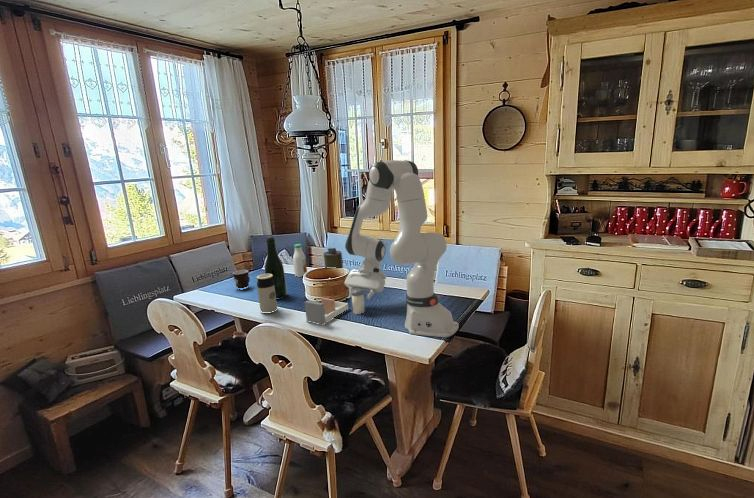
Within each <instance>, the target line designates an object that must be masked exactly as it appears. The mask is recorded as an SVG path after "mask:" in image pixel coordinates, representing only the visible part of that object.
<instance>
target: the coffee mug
mask: <svg viewBox="0 0 754 498" xmlns="http://www.w3.org/2000/svg"><path fill="white" fill-rule="evenodd" d="M232 274H233V275H232V276H233V279H234V283H235V285H236V288H237V287H238V288H244V287H247V286H250V285H249V282H251V281H250V280H251V279H250V276H249V270H248V269H240V270H235V271H233V272H232Z"/></svg>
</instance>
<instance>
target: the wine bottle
mask: <svg viewBox="0 0 754 498" xmlns="http://www.w3.org/2000/svg"><path fill="white" fill-rule="evenodd" d="M266 248H267V249H266V250H267V255H266V261H265V264H264V274H272V275H273V276H272V279H273V281H274V286H275V294H276V298H281V297H284V296H286V295H287V296H288V289H287V288H288V287H287V282H286V281H287V280H286V275H285V268H284V265H283V262H282V260H281V259H280V256H279V254H278V251H277V247H276V239H275V238H274V235H273V236H272V235H270V236H267V237H266ZM287 296H286V297H287ZM284 298H285V297H284Z"/></svg>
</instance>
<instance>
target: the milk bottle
mask: <svg viewBox="0 0 754 498" xmlns="http://www.w3.org/2000/svg"><path fill="white" fill-rule="evenodd" d="M293 247H294V253H293V256H292V260H293V271H294V277H296V276H297V277H296V278H303V277H302V276H303V275H304V274H305V273H306V272H307V273H308V267H307V261H306V260H307V259H306V255H305V253H304V251H303V246H302V244H301V243H296V244H295V243H294V245H293Z"/></svg>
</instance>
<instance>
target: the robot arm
mask: <svg viewBox="0 0 754 498" xmlns="http://www.w3.org/2000/svg"><path fill="white" fill-rule="evenodd" d="M368 179H369V180H368V184H367V186H366V187H367V188H366V195H365V198H364V201H363V202H361V203H359V204H358V206H357V208H356V210H355V213H354V217H353V220H352V222H351V227H350V229H349V233H348V235H347V238H346V241H345V246H344V247H345V250H346V252H347V253H348V254H349V255H351V256H357V257H358V256H359V257H362V258H364V260H363V261H362V263H361V265H360V267H359V269H352V270H350V271H349V272H348V274H347V276H346V278H345V280H344V281H343V282H344V286H345V287H346V288H349V290H348V291H349V293H348V296H349V297H351V298H352V295H351V290H353V289H363V290H364V291H367V292H369V293H368V294H367V293H366V295H365V299H366V300H370V299H371V297H372V296H373V295H374V294H375V293H381V292H383V290H384V288H385V286H386V279H387V275H386V273H385V272H384V271H383V270H382V269H381V264H382V262H384V261H383V260H384V258H385V255H386V251H387V250H386V249H387V246H386V243H385V242H384V241H382V240H380V239H377V238H373V237H368V236H364V235H362V234H361V233H360V231H361V228H362V225H363V222H364V219H367V218H372V217H379V216H381V215H384V214H386V212H387V211H388V210H389V209H390V205H391V199H392V193H393V192H392V191H393V190H394V191H395V193H396V201H397V207H398V215H399V228H398V232H397V235H396V237H395V238H394V239H393V241H392V243H391V245H390V246H389V256H390V258H391V260H392V261H393V262H394V264H396V265H399V266H406V265H407V266H408V265H413V264H414V265H413V267H412V269H411V270H410V271H408V273H407V275H406V278H405V279H406V293H405V300H406V301H405V302H406V303H405V304H406V317H405V322H404V329H406V330H408V332H409V334H410V335H415V336H416V335H419V336H426V337H437V338H449V337H451V336H453V335H454V334H456V332H457V331H458V330H459V327H460V325H459V322H457V321H454V319H453V314H452V312H451V311H450V310H449V309H447V308H446V307H445V306H444V305H442V304H441V303H440V302H439V299H440V294H438V295H436V294H435V292H434V291H435V290H434V289H435V287H434V286H435V284H434V280H435V279H434V278H435V272H436V269H437V265H438V263H439V261H440V259H441V258H442V256H443V255H444V254H445V252H446V251H447V245H448V244H447V240H446V238H445V237H444V235H442V233H440V232H424V233H421V228H422V225H423V224H424V223H425V222H426V221H427V219H428V210H427V204H426V198H425V197H426V196H425V193H424V189H423V185H422V181H421V180H420V177H419V169H418V166H417V164H416V163H415V162H414V161H411V160H407V159H405V160H396V159H395V160H394V159H391V160H390V159H389V160H384V161H376V162H374V163H372V164H371V165H370V167H369V170H368Z"/></svg>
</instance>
